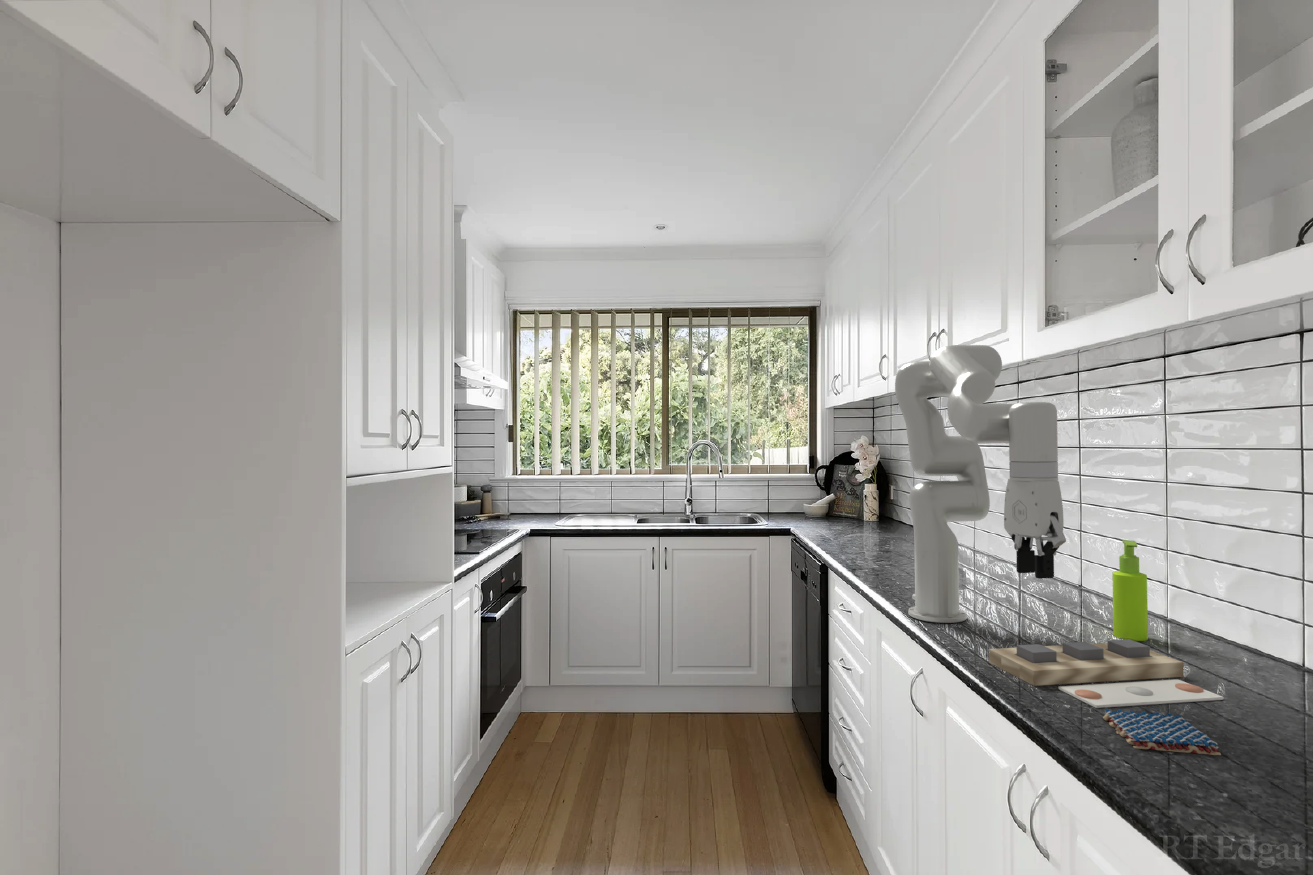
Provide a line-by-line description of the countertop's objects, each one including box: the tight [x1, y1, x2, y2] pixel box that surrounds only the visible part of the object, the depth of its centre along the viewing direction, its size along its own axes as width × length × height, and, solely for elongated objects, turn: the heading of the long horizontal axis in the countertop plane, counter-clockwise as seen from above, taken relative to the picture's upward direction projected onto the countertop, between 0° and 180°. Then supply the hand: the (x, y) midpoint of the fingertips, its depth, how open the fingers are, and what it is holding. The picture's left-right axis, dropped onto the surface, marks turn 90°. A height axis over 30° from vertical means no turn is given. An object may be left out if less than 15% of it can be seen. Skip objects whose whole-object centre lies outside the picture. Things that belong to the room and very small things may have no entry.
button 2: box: [1062, 641, 1104, 661], centre depth 120 cm, size 4×4×2 cm
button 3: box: [1107, 639, 1151, 658], centre depth 121 cm, size 4×4×2 cm
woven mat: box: [1102, 708, 1222, 756], centre depth 93 cm, size 10×11×2 cm
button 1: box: [1016, 643, 1057, 663], centre depth 119 cm, size 4×4×2 cm
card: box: [1058, 678, 1224, 709], centre depth 108 cm, size 22×8×1 cm, turn 97°
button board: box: [988, 642, 1184, 687], centre depth 120 cm, size 28×12×2 cm, turn 97°
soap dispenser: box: [1111, 539, 1149, 642], centre depth 139 cm, size 6×7×20 cm
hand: (1035, 574), depth 119 cm, fingers open, 4 cm apart
